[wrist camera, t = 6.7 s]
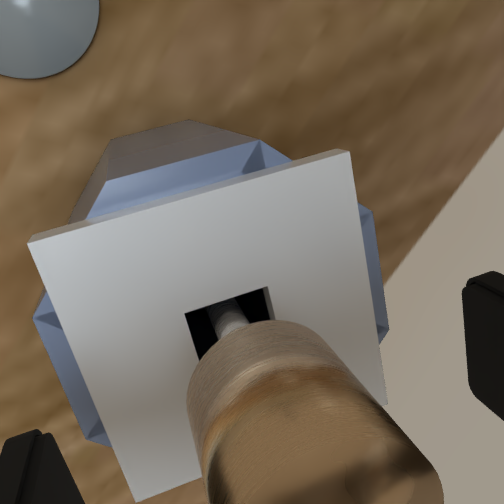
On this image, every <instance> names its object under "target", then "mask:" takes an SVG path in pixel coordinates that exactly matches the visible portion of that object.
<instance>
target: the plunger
mask: <svg viewBox="0 0 504 504" xmlns="http://www.w3.org/2000/svg"><path fill="white" fill-rule="evenodd" d="M204 308H205V309H206V312H207V314H208V316H209V319H210V321H211V323H212V326H213V328H214V330H215V333H216V335H217V337H218V341H217V342H216V343H215V344H214V345H213V346H212V347H211V348H210V349H209V350H208V351H207V352H206V353H205V354H204V355H203V357H202V358H201V360H200V361H199V363H198V364H197V366H196V368H195V370H194V372H193V373H192V376H191V379H190V382H189V385H188V390H187V398H186V406H187V414H188V418H189V422H190V427H191V431H192V436H193V440H194V444H195V449H196V453H197V457H198V462H199V466H200V470H201V475H202V479H203V483H204V488H205V492H206V497H207V501H208V504H444V497H443V496H444V495H443V489H442V484H441V481H440V479H439V476H438V474H437V472H436V470H435V469H434V467H433V466H432V464H431V463H430V462H429V461H428V460H427V459H426V457H425V456H424V455H423V454H422V453H421V452H420V451H419V449H418V448H417V447H416V446H415V445H414V444H413V442H412V441H411V440H410V439H409V438H408V437H407V435H406V434H405V433H404V432H403V431H402V430H401V428H400V427H399V426H398V425H397V424H396V423H395V421H394V420H393V419H392V418H391V417H390V416H389V414H388V413H387V412H386V411H385V410H384V409H383V408H382V406H381V405H380V404H379V403H378V402H377V401H376V399H375V398H374V397H373V396H372V395H371V394H370V392H369V391H368V390H367V389H366V388H365V387H364V386H363V384H362V383H361V382H360V381H359V380H358V379H357V377H356V376H355V375H354V374H353V373H352V372H351V371H350V369H349V368H348V367H347V366H346V365H345V364H344V362H343V361H342V360H341V359H340V358H339V357H338V355H337V354H336V353H335V352H334V351H333V350H332V349H331V347H330V346H329V345H328V344H327V343H326V342H325V341H324V339H323V338H322V337H321V336H320V335H318V334H317V333H316V332H315V331H313V330H311V329H310V328H308V327H306V326H304V325H301V324H299V323H295V322H291V321H284V320H266V321H260V322H255V323H252V324H250V323H249V322H248V320H247V318H246V317H245V315H244V313H243V312H242V310H241V308H240V307H239V305H238V303H237V302H236V300H235V298H234V297H232V298H229V299H226V300H223V301H220V302H217V303H214V304H211V305H208V306H205V307H202V308H199V309H196V310H200V309H204ZM193 311H194V310H193Z"/></svg>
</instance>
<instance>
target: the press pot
mask: <svg viewBox="0 0 504 504" xmlns="http://www.w3.org/2000/svg"><path fill="white" fill-rule="evenodd" d="M27 245H28V247H29V250H30V252H31V254H32V257H33V259H34V261H35V264H36V266H37V269H38V271H39V273H40V276H41V278H42V280H43V283H44V285H45V286H44V288H43V291H42V293H41V296H40V299H39V301H38V304H37V307H36V309H35V312H34V315H33V317H32V319H33V321H34V323H35V325H36V328H37V330H38V332H39V335H40V337H41V339H42V341H43V344H44V346H45V348H46V350H47V353H48V355H49V357H50V359H51V362H52V364H53V366H54V368H55V371H56V373H57V375H58V378H59V380H60V382H61V384H62V387H63V389H64V391H65V393H66V396H67V398H68V400H69V402H70V405H71V407H72V409H73V411H74V414H75V416H76V418H77V421H78V423H79V425H80V427H81V430H82V432H83V434H84V436H85V439H86V440H89V441H93V442H96V443H99V444H102V445H106V446H109V447H112V448H113V450H114V452H115V454H116V457H117V459H118V461H119V464H120V466H121V469H122V471H123V473H124V476H125V478H126V480H127V483H128V485H129V488H130V490H131V492H132V495H133V497H134V500H135V502H139V501H142V500H144V499H147V498H149V497H152V496H154V495H157V494H159V493H162V492H165V491H167V490H170V489H172V488H175V487H177V486H180V485H182V484H185V483H187V482H190V481H193V480H195V479H198V478H200V477H202V475H201V470H200V466H199V462H198V457H197V453H196V449H195V444H194V440H193V436H192V431H191V427H190V422H189V418H188V414H187V406H186V398H187V390H188V385H189V382H190V379H191V376H192V373H193V372H194V370H195V368H196V366H197V364H198V363H199V361H200V360H201V358H202V357H203V355H204V354H205V353H206V352H207V351H208V350H209V349H210V348H211V347H212V346H213V345H214V344H215V343H216V342H217V341H218V337H217V335H216V333H215V330H214V328H213V326H212V323H211V321H210V319H209V316H208V314H207V312H206V309H205V308H204V309H200V310H196V309H199V308H202V307H205V306H208V305H211V304H214V303H217V302H220V301H223V300H226V299H229V298H232V297H234V298H235V300H236V302H237V303H238V305H239V307H240V308H241V310H242V312H243V313H244V315H245V317H246V318H247V320H248V322H249V323H250V324H252V323H255V322H260V321H266V320H284V321H291V322H295V323H299V324H301V325H304V326H306V327H308V328H310V329H311V330H313V331H315V332H316V333H317V334H318V335H320V336H321V337H322V338H323V339H324V341H325V342H326V343H327V344H328V345H329V346H330V347H331V349H332V350H333V351H334V352H335V353H336V354H337V355H338V357H339V358H340V359H341V360H342V361H343V362H344V364H345V365H346V366H347V367H348V368H349V369H350V371H351V372H352V373H353V374H354V375H355V376H356V377H357V379H358V380H359V381H360V382H361V383H362V384H363V386H364V387H365V388H366V389H367V390H368V391H369V392H370V394H371V395H372V396H373V397H374V398H375V399H376V401H377V402H378V403H379V404H380V405H381V406H384V405H387V404H388V401H387V395H386V387H385V381H384V375H383V368H382V361H381V355H380V348H379V344H380V343H381V341H382V340H383V338H384V337H385V335H386V334H387V332H388V330H389V325H388V318H387V311H386V304H385V297H384V290H383V283H382V276H381V268H380V261H379V254H378V247H377V240H376V233H375V226H374V219H373V212H372V211H370V210H369V209H367V208H366V207H364V206H363V205H361V204H360V203H358V202H357V197H356V190H355V184H354V177H353V171H352V164H351V158H350V151H346V150H341V149H333V150H330V151H326V152H323V153H319V154H316V155H312V156H309V157H305V158H301V159H298V160H294V161H292V160H291V159H289V158H288V157H286V156H284V155H283V154H281V153H280V152H278V151H277V150H275V149H274V148H272V147H270V146H269V145H267V144H266V143H264V142H263V141H261V140H260V139H256V138H252V137H249V136H245V135H242V134H238V133H235V132H231V131H228V130H224V129H221V128H217V127H214V126H210V125H207V124H203V123H200V122H196V121H193V120H185V121H181V122H177V123H173V124H170V125H166V126H162V127H158V128H154V129H150V130H146V131H142V132H138V133H135V134H131V135H127V136H123V137H119V138H115V139H111V140H110V142H109V144H108V146H107V148H106V149H105V151H104V153H103V155H102V157H101V159H100V161H99V163H98V164H97V166H96V168H95V170H94V172H93V174H92V176H91V177H90V179H89V181H88V183H87V185H86V187H85V189H84V191H83V192H82V194H81V196H80V198H79V200H78V202H77V204H76V205H75V207H74V209H73V211H72V214H71V217H70V219H69V222H68V225H65V226H62V227H58V228H54V229H51V230H47V231H44V232H40V233H37V234H33V235H32V236H31V238H30V239H29V241H28V243H27ZM193 310H194V311H193Z"/></svg>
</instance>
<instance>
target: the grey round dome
mask: <svg viewBox="0 0 504 504" xmlns="http://www.w3.org/2000/svg"><path fill="white" fill-rule="evenodd" d="M98 19H99V0H0V74H1V75H6V76H10V77H14V78H23V79H37V78H44V77H48V76H52V75H55V74H58V73H60V72H62V71H64V70H66V69H67V68H69V67H70V66H72V65H73V64H74V63H75V62H77V61H78V60H79V59H80V58H81V57H82V55H83V54H84V53H85V52H86V51H87V49H88V47H89V46H90V44H91V42H92V40H93V37H94V35H95V32H96V29H97V25H98Z"/></svg>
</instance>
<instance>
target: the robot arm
mask: <svg viewBox="0 0 504 504" xmlns="http://www.w3.org/2000/svg"><path fill="white" fill-rule="evenodd" d="M462 303H463V315H464V329H465V341H466V356H467V369H468V382H469V386H470V389H471V391H472V393H473V394H474V395H475V397H476V398H477V399H479V400H480V401H481V402H482V403H483V404H484V405H486V406H487V407H488V408H489V409H490V410H492V411H493V412H494V413H495V414H496V415H497V416H499V417H500V418H501V419H502V420H503V421H504V275H503V274H501V273H498V272H495V271H490V272H487V273H484V274H481V275H479V276H476V277H473V278H470V279H469V280H468V281H467V284H466V287H464V288H463V290H462ZM0 504H85V503H84V500H83V498H82V496H81V494H80V492H79V490H78V488H77V486H76V484H75V481H74V479H73V477H72V475H71V473H70V471H69V469H68V467H67V464H66V462H65V460H64V458H63V456H62V454H61V452H60V450H59V448H58V445H57V443H56V441H55V439H54V437H53V435H52V434H51V433H46V434H42V433H41V432H40V431H39V430H38V429H35V430H32V431H29V432H26V433H23V434H20V435H17V436H14V437H12V438H9V439H7V440H6V441H5V443H4V446H3V449H2V452H1V455H0Z"/></svg>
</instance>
